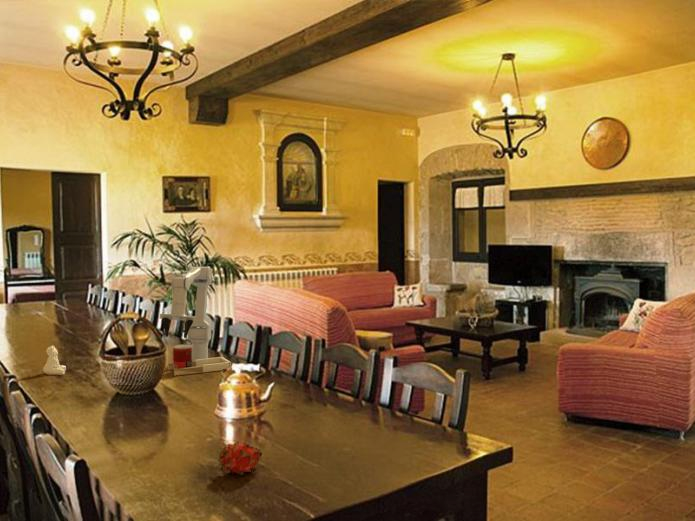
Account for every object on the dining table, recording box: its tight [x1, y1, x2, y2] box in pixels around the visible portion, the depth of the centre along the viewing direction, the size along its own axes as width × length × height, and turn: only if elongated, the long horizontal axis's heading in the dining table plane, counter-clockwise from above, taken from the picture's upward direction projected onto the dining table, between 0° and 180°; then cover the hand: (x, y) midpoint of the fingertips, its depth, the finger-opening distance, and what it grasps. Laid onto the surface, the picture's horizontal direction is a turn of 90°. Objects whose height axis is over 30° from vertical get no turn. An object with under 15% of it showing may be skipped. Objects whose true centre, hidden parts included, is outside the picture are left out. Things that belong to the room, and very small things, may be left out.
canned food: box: [172, 344, 192, 369], centre depth 260 cm, size 8×8×11 cm
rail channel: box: [167, 361, 204, 377], centre depth 260 cm, size 13×12×2 cm
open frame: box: [195, 356, 232, 373], centre depth 266 cm, size 13×12×3 cm
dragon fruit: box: [218, 441, 263, 476], centre depth 152 cm, size 8×8×12 cm
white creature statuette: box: [42, 345, 67, 376], centre depth 257 cm, size 10×9×12 cm
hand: (176, 337), depth 251 cm, fingers open, 7 cm apart
